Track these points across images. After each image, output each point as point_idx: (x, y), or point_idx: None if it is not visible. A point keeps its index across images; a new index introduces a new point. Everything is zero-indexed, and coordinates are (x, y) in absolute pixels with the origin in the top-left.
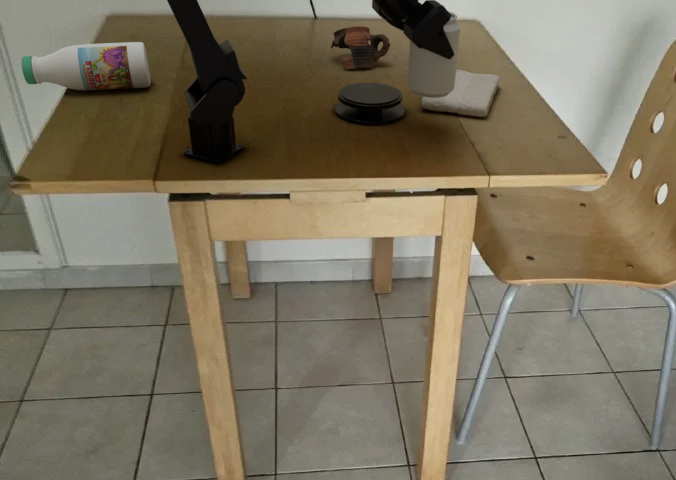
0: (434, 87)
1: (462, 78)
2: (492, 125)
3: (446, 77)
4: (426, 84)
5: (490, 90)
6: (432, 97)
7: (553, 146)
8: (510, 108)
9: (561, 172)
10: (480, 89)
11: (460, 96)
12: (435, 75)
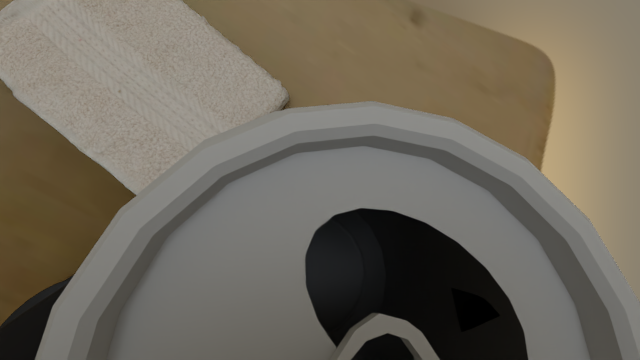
0: (389, 308)
1: (77, 34)
2: (320, 105)
3: (403, 264)
4: (379, 341)
5: (198, 21)
6: (362, 296)
7: (448, 56)
8: (248, 15)
9: (546, 111)
10: (184, 41)
11: (207, 115)
12: (408, 321)
